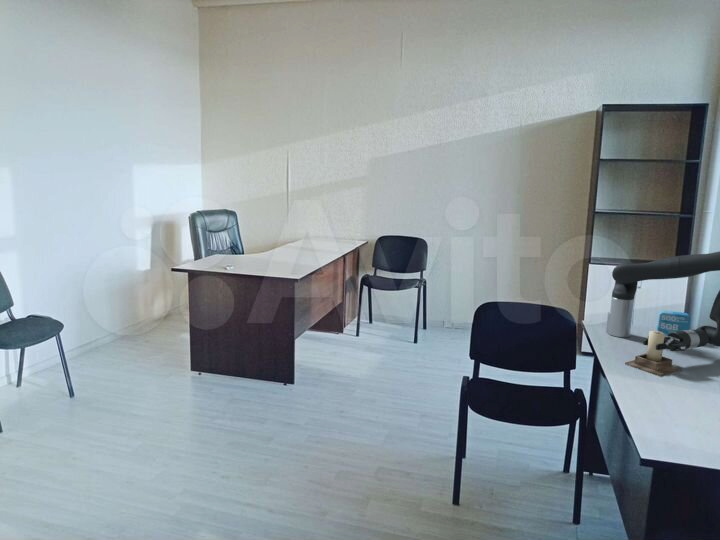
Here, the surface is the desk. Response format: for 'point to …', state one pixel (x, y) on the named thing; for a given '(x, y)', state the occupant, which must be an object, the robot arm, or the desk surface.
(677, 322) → the data package
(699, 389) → the desk surface
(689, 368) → the desk surface
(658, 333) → the paper roll
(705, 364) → the desk surface
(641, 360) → the roll stand
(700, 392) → the desk surface
